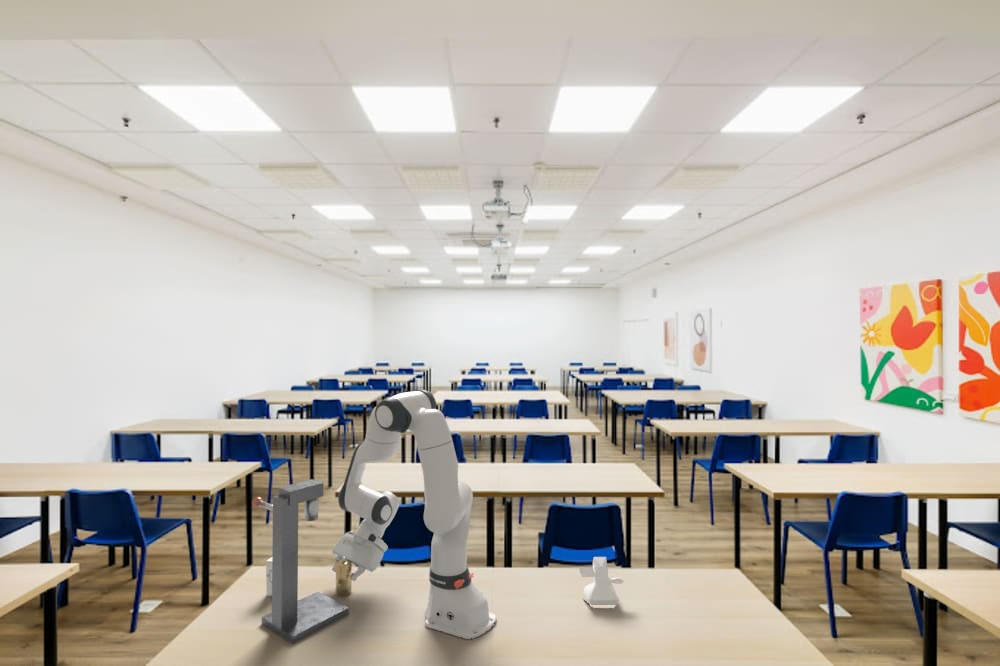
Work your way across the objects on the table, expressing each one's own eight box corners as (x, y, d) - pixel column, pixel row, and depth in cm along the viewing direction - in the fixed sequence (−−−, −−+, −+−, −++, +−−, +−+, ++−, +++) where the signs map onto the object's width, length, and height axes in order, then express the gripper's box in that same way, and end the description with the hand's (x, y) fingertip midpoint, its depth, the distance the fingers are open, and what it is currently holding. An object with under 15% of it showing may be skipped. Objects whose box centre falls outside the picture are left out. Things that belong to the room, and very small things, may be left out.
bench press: (348, 614, 159) (350, 481, 159) (292, 643, 144) (293, 497, 144) (302, 589, 174) (303, 467, 174) (246, 613, 159) (247, 480, 159)
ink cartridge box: (281, 583, 178) (281, 540, 178) (294, 585, 177) (294, 542, 177) (265, 596, 170) (265, 551, 170) (278, 597, 169) (279, 552, 169)
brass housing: (354, 591, 173) (354, 556, 172) (342, 598, 169) (342, 562, 168) (345, 587, 176) (345, 552, 175) (332, 593, 172) (332, 557, 171)
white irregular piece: (626, 610, 164) (627, 567, 163) (582, 610, 163) (583, 567, 163) (620, 596, 172) (620, 555, 172) (578, 596, 172) (578, 555, 172)
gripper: (343, 525, 184) (318, 562, 176) (381, 540, 172) (356, 580, 164) (353, 534, 188) (329, 570, 180) (391, 549, 176) (368, 589, 168)
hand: (343, 575), depth 172 cm, fingers open, 8 cm apart
